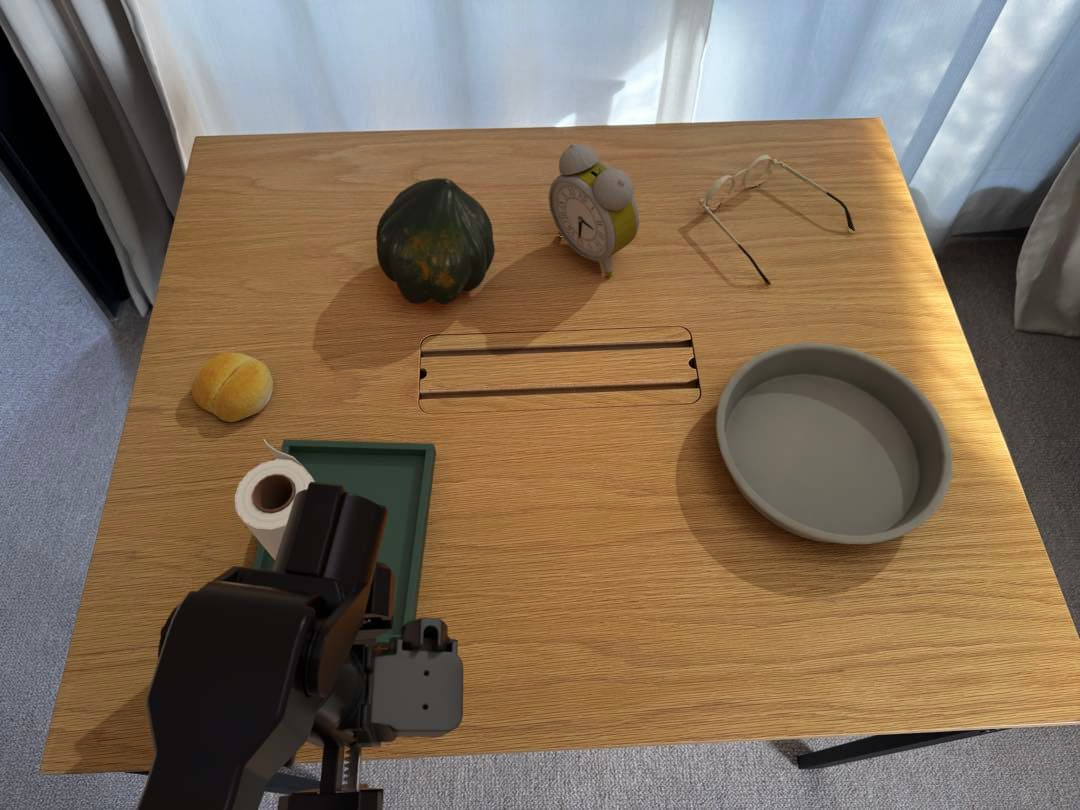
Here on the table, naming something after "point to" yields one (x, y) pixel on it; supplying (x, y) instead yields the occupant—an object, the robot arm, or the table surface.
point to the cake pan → (833, 444)
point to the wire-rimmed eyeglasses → (768, 171)
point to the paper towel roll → (270, 497)
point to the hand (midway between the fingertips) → (365, 720)
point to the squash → (435, 242)
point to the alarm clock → (593, 205)
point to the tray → (387, 480)
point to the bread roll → (232, 386)
